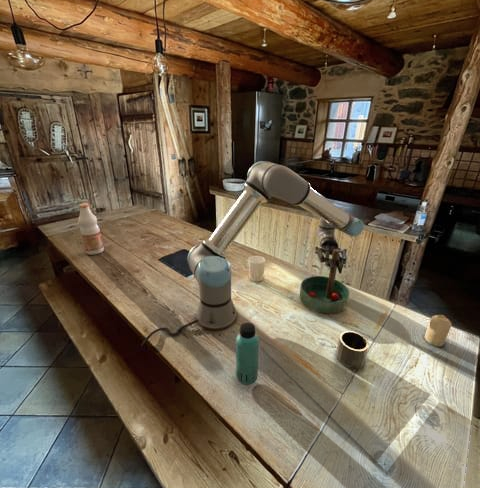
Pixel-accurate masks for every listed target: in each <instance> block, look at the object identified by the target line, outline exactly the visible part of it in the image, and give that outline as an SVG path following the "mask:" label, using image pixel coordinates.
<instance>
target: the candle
mask: <svg viewBox="0 0 480 488" xmlns="http://www.w3.org/2000/svg"><path fill="white" fill-rule="evenodd" d="M452 325H453V324H452V322H451V320H450V319H448V318H447V316H445V315H444V314H438V315H437V314H435V315H433V316H431V318H430V321H429V324H428V326H427V329H426V332H425V334H424V340H425V341H426V342H427V343H428V344H429V345H432V346H435V347H443V346H444V344H445V342H446V339H447V337H448V336H449V332H450V330H451V327H452Z"/></svg>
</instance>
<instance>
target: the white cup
mask: <svg viewBox="0 0 480 488" xmlns="http://www.w3.org/2000/svg"><path fill="white" fill-rule="evenodd" d="M247 262H248V277H249V280H250V281H251V282H260V281H263V280H264V274H265V268H266V267H265V266H266V259H265V258H264V257H263V256H260V255H252V256H249V257H248V261H247Z"/></svg>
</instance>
